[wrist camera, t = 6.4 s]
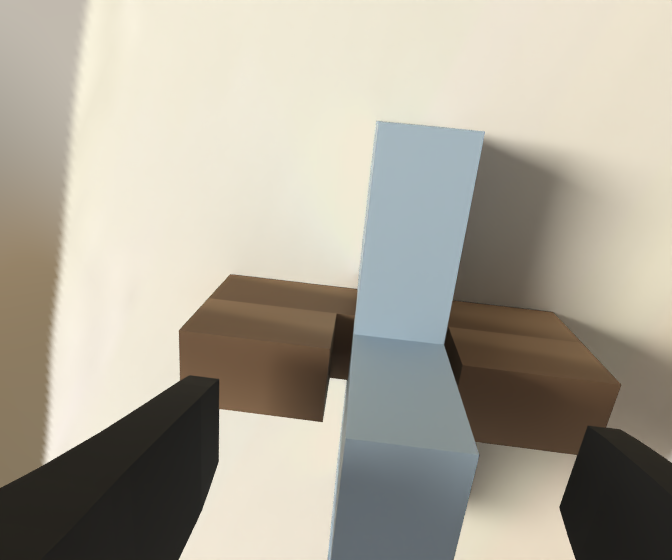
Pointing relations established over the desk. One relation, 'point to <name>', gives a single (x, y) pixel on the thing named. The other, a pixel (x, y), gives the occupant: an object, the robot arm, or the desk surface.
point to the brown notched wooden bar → (335, 349)
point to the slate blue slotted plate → (407, 355)
